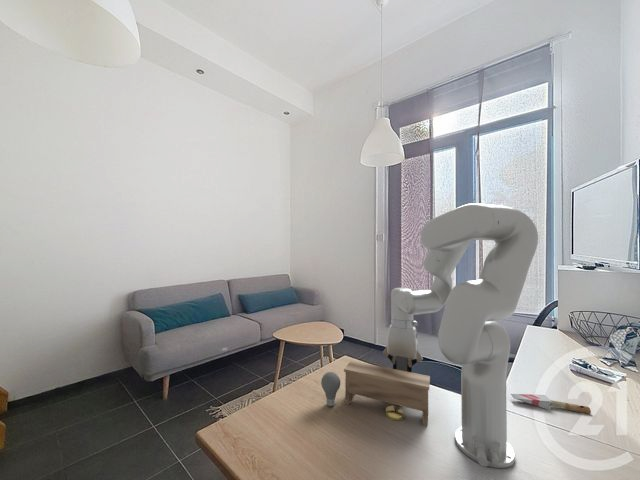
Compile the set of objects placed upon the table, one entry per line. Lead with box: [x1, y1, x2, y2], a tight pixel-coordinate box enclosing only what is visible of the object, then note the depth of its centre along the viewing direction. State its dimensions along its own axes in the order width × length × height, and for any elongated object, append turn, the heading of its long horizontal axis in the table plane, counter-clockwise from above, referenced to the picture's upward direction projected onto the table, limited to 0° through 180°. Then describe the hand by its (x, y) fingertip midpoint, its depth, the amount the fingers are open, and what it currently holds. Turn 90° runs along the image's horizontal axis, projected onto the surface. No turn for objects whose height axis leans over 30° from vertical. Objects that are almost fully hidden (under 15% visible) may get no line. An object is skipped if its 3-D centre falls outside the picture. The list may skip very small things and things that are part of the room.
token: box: [385, 405, 405, 422], centre depth 77 cm, size 5×5×2 cm
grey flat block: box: [396, 356, 408, 371], centre depth 89 cm, size 12×4×14 cm, turn 155°
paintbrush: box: [510, 393, 592, 415], centre depth 82 cm, size 4×3×20 cm
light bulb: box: [320, 371, 341, 407], centre depth 82 cm, size 6×6×10 cm
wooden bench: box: [343, 360, 431, 427], centre depth 81 cm, size 7×25×11 cm, turn 65°
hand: (402, 375), depth 92 cm, fingers closed on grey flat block, 3 cm apart
